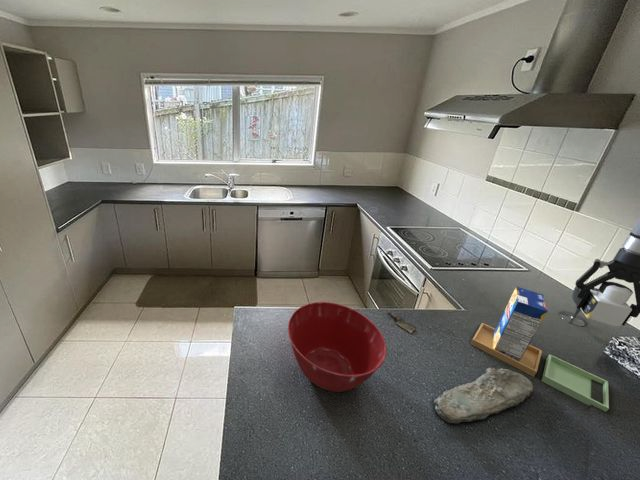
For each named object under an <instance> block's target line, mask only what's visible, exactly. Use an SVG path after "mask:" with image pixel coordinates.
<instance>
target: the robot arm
mask: <svg viewBox="0 0 640 480" xmlns="http://www.w3.org/2000/svg"><path fill="white" fill-rule="evenodd" d="M604 267H607V268H608V270H609V271H607V272H606V273H604V274H602V275H600V276H599V277H596V278H595V279H592V280H590V281H588V280H589V279H590V278H591V277H592V276H593V275H594V274H595V273H597V272H598V271H599V269H603V268H604ZM613 279H616V280H620V281H625V282H627V283H628V284H629V283H630V284H633V292H634V297H635V303H636V304H634V303H631V304H630V305H629V306H630V307H631V308H632V311H631V312H630V314H629V315H628V316H627V318H626V319H625V321H624V322H623V323H622V325H621V326H626V323H627V322H628V321H629V319H630V318H634V319H635V318H638V316H639V315H640V216H639V217H638V219H637V221H636V222H635V224H634V226H633V228H632V229H631V231H630V232H629V234H628V236H627V237H626V238H625V239H624V241H623V243H622V245H621V247H620V248H619V249H618V250H617V252H616V254H615V256H614V257H613V259H612V260H610V261H604V260H601V259H599V258H596V259H594V261H593V264H592V266H591V267H589V268H588V269H587V270H586V271H585V272H584V273H583V274H582V275H581V276H580V277H579V278H578V279H576V281H575V286H579V287H580V288H581V290H580V292H579V293H578V298H581V300H580V301H579V303H578V304H577V308H578V309H580V308H581V307H582V305H583V304H584V302H585V300H586V299H587V297H588V296H589V294H590V291H591V290H590V289H591V288H593V287H594V288H596V287H597V286H599V285H600V286H601V284H602V283H604V282H606V281H608V282H609V281H611V280H613ZM587 281H588V282H587ZM585 282H586V283H585Z"/></svg>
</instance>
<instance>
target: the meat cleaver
mask: <svg viewBox="0 0 640 480" xmlns="http://www.w3.org/2000/svg"><path fill="white" fill-rule="evenodd" d="M386 314H388V315H389V316H391V317H392V318H394V319H395V320H396V322H395V324H396V325H398V326H399V327H401V328H403V330H405V331H407V332H409V334H412V333H414V331H415V327H414V326H411V325H408V324H407V323H405V322H404V321H402V320H401V318H400V317H399V316H398V315H396V314H395V313H394V312H392V311H390V310H388V311H387V313H386Z"/></svg>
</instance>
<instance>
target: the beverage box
mask: <svg viewBox="0 0 640 480" xmlns="http://www.w3.org/2000/svg"><path fill="white" fill-rule="evenodd" d="M547 313H548V307H547V304H546V301H545V296H544V294H543V293H539V292H536V291H533V290H530V289H526V288H523V287H521V286H520V287H519V286H515V288H514V290H513V292H512V294H511V296H510V298H509V301H508V303H507V305H506V307H505V309H504V310H503V313H502V315H501V317H500V319H499V321H498V323H497V325H496V327H495V331H494V333H493V349H495V350H497V351H499V352H501V353H503V354H505V355H507V356H509V357H511V358H513V359H515V360H517V361H520V360H521V358H522V356H523V354H524V353H525V351H526V349H527V347H528V345H531V342H532V340H533V338H534V336H535V335H536V333H537V331H538V329H539V328H540V326H541V324H542V322H543V320H544V319H545V318H546V315H547Z"/></svg>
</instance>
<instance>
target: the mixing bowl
mask: <svg viewBox="0 0 640 480" xmlns="http://www.w3.org/2000/svg"><path fill="white" fill-rule="evenodd" d="M287 333H288V338H289V342H290V345H291V349H292V352H293V355H294V358H295V360H296V362H297V365H298V367H299V368H300V370H301V371H302V373H303V375H304V376H305V377H306V378H307V379H308V380H309V381H310V382H311V383H312V384H314V385H315V386H317V387H319V388H321V389H323V390H326V391H329V392H337V393H340V392H346V391H350V390H352V389H354V388H355V389H356V388H357V387H359V386H360V385H362V384H363V383H364V382H366V381H367V380H368V379H370V378H371V376H372V375H373V374H374V373H375V372H376V371H377V370H378V369H380V367H381V366H382V365H383V364H384V362H385V360H386V357H387V344H386V340H385V337H384V335H383V334H382V332H381V331H380V330H379V328H378V327H377V326H376V324H375V323H374V322H372V321H371V319H369V318H368V317H367V316H365V315H364V314H362V313H361V312H359V311H357V310H356V309H353V308H351V307H348V306H346V305H343V304H340V303H335V302H329V301H317V302H316V301H315V302H310V303H306V304H304V305H301V306H300V307H298V308H297V309H295V311H293V313H292V314H291V315H290V318H289V320H288V324H287Z"/></svg>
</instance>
